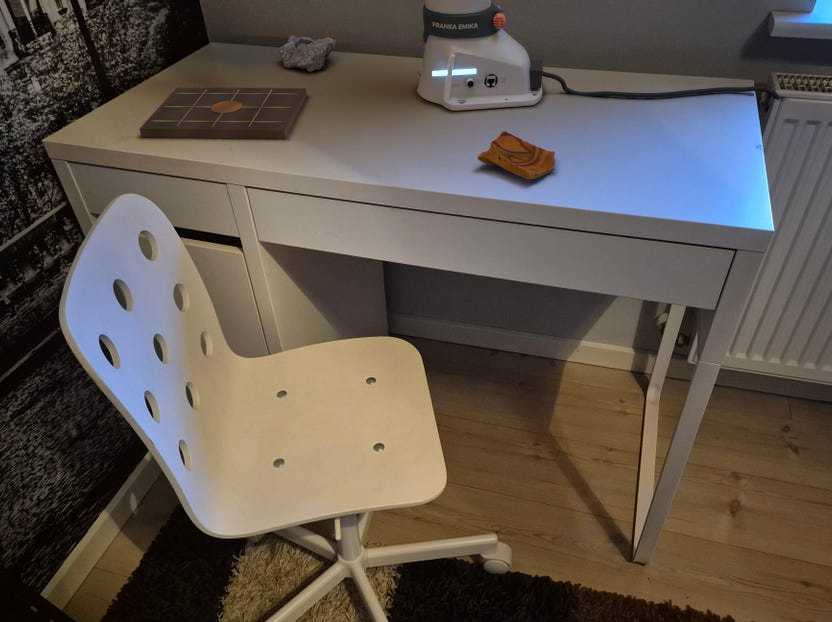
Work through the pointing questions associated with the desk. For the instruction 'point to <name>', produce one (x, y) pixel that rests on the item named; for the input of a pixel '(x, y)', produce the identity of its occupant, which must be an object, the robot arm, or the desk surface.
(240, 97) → the board
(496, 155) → the pottery fragment
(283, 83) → the desk surface
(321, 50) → the mineral specimen
